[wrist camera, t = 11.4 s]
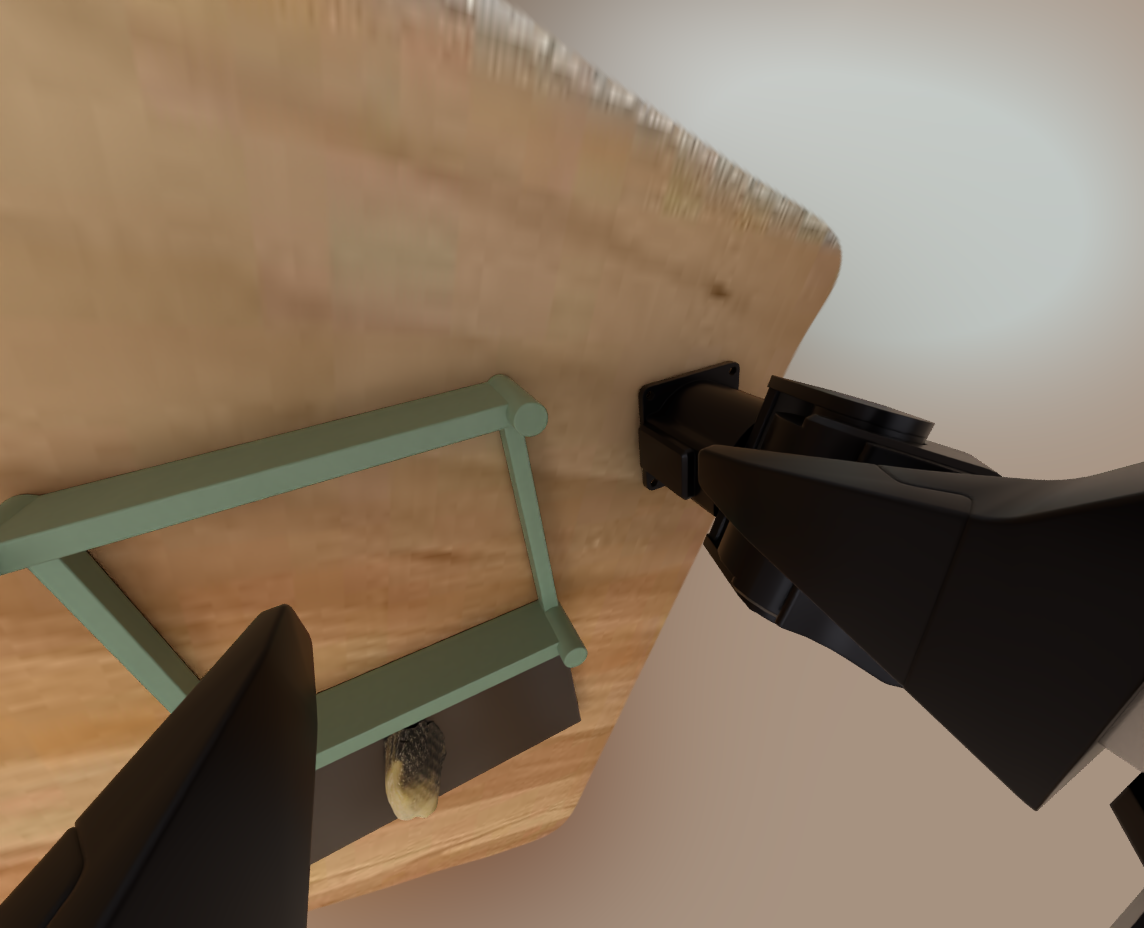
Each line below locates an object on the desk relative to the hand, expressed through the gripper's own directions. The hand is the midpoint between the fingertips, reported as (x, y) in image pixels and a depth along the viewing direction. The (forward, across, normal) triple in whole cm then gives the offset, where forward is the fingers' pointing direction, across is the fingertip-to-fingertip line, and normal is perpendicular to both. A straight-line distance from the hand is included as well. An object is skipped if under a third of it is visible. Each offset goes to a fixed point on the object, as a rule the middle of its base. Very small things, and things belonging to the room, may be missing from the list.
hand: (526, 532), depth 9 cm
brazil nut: (+11, +8, +22) cm, 26 cm away
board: (+12, +8, +22) cm, 26 cm away
